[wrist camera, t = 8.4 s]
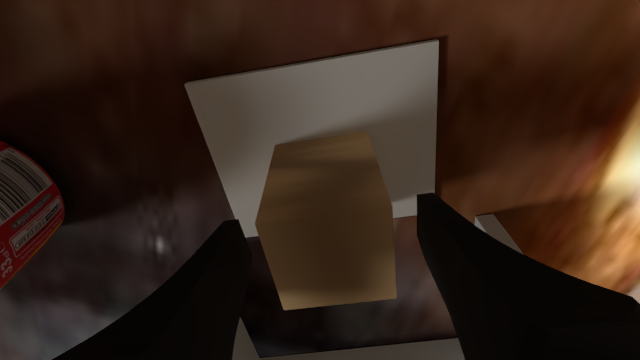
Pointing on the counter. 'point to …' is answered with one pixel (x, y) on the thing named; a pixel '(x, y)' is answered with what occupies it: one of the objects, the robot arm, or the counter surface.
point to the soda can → (25, 210)
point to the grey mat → (324, 119)
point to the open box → (419, 356)
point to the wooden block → (327, 223)
